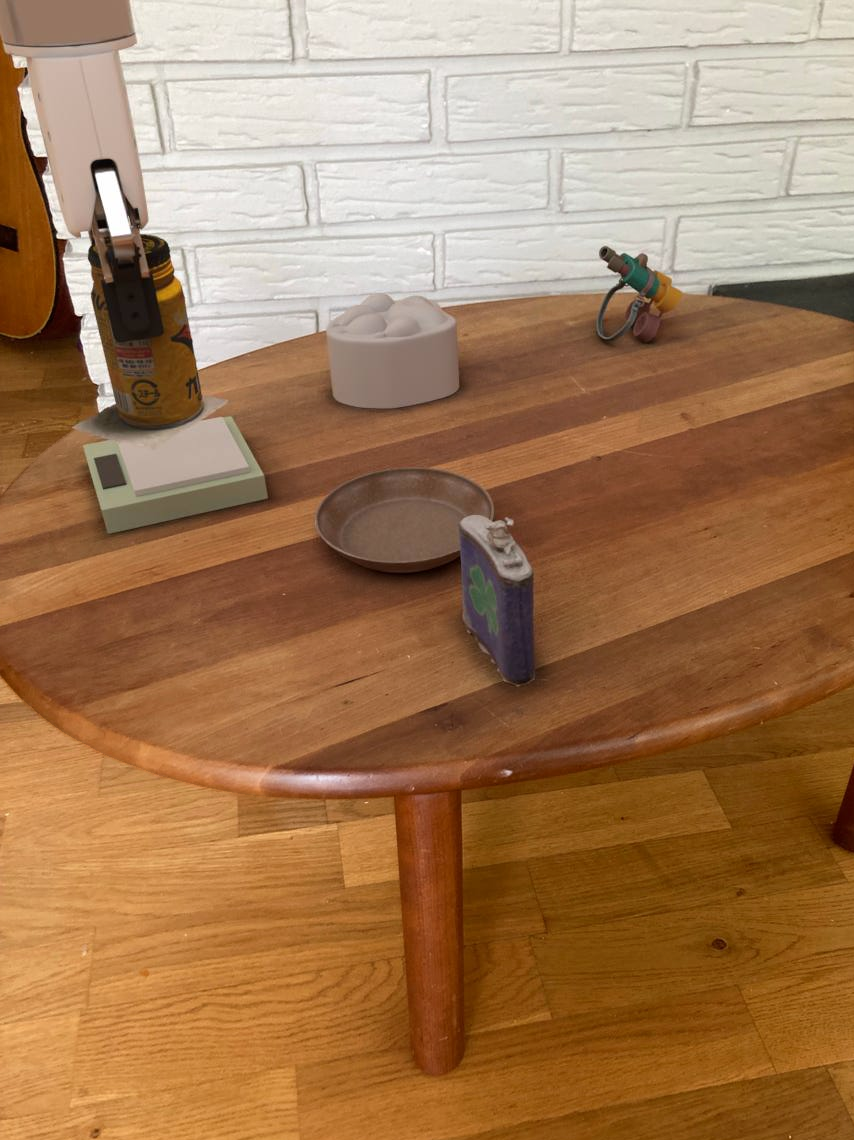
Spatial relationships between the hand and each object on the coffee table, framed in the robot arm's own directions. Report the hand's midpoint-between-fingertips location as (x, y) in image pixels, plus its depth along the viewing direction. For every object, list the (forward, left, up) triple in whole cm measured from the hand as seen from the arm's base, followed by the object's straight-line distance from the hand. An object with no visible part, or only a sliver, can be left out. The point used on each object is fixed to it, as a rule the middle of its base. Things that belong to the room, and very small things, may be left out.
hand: (132, 317), depth 73 cm
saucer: (+18, -2, -22) cm, 28 cm away
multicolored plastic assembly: (+57, +28, -22) cm, 67 cm away
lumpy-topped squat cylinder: (+27, +27, -22) cm, 44 cm away
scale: (+2, +16, -21) cm, 27 cm away
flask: (+19, -19, -22) cm, 34 cm away
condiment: (0, 0, -7) cm, 7 cm away
